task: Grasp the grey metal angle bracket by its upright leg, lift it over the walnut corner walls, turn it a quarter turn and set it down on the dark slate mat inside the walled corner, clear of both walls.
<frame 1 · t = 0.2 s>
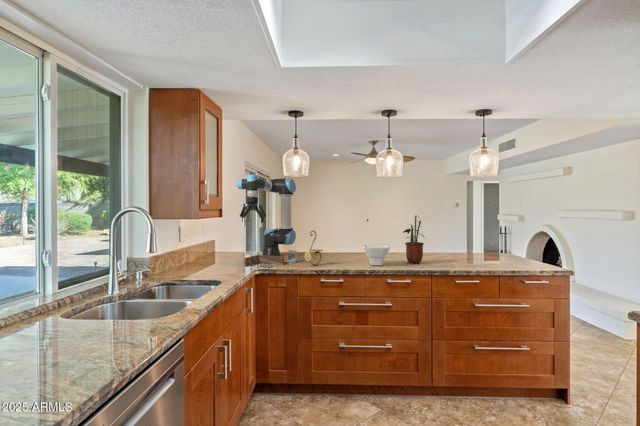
hand: (252, 227, 269), 28 cm above the counter, fingers open, 13 cm apart
bowl: (376, 265, 272), on the counter
angle bracket: (290, 263, 284), on the counter
corner walls: (263, 265, 272), on the counter
wall sconce: (314, 265, 274), on the counter
potted plant: (414, 264, 279), on the counter
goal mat: (264, 266, 269), on the counter
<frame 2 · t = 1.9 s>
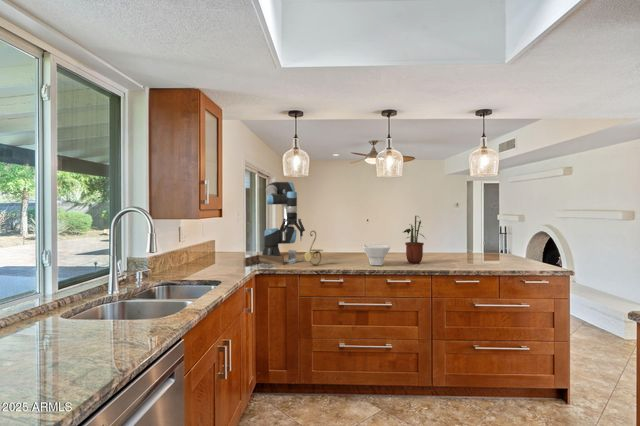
hand: (292, 240, 287), 16 cm above the counter, fingers open, 13 cm apart
nothing on the counter moved.
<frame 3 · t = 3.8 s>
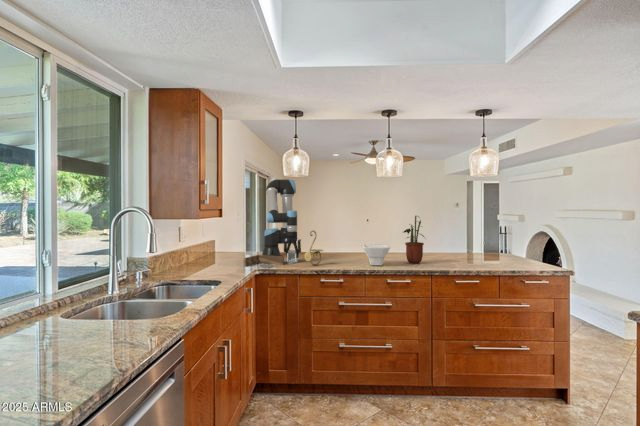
hand: (292, 261, 287), 0 cm above the counter, fingers closed on angle bracket, 6 cm apart
angle bracket: (290, 263, 284), on the counter, touching gripper
everything else where it was.
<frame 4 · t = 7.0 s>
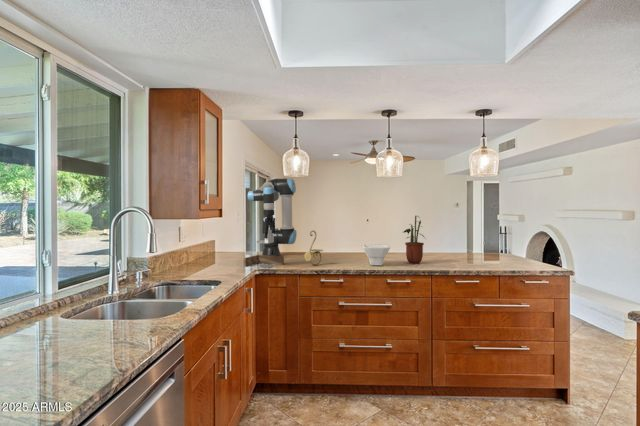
hand: (269, 242, 268), 17 cm above the counter, fingers closed on angle bracket, 6 cm apart
angle bracket: (264, 242, 269), point 17 cm above the counter, touching gripper
everything else where it was.
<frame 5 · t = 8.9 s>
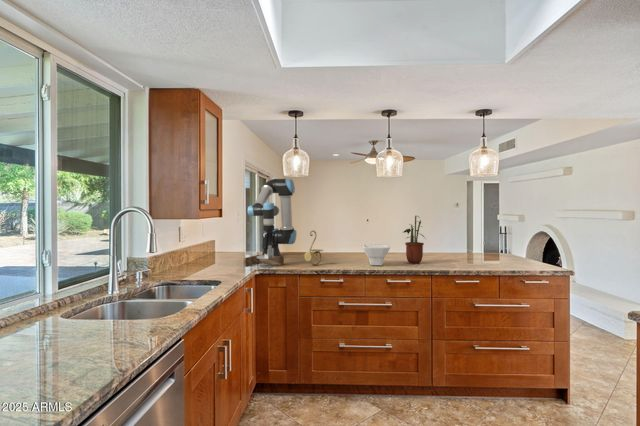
hand: (269, 257, 268), 6 cm above the counter, fingers closed on angle bracket, 6 cm apart
angle bracket: (264, 258, 269), point 6 cm above the counter, touching gripper
everything else where it was.
when the fingers open (2 cm above the counter, at t = 10.1 s): angle bracket drops 1 cm, resting on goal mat.
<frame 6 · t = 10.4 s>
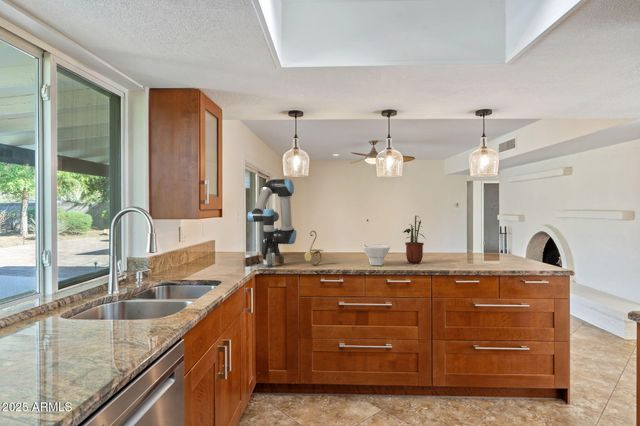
hand: (269, 263, 268), 3 cm above the counter, fingers open, 9 cm apart
angle bracket: (264, 266, 270), resting on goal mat
everything else where it was.
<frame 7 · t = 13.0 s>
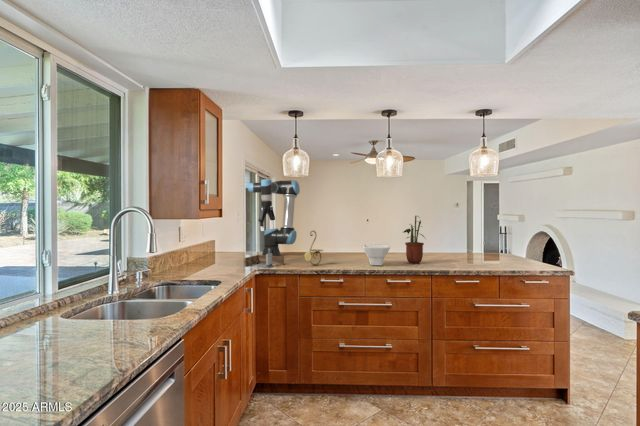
hand: (267, 229, 279), 25 cm above the counter, fingers open, 13 cm apart
nothing on the counter moved.
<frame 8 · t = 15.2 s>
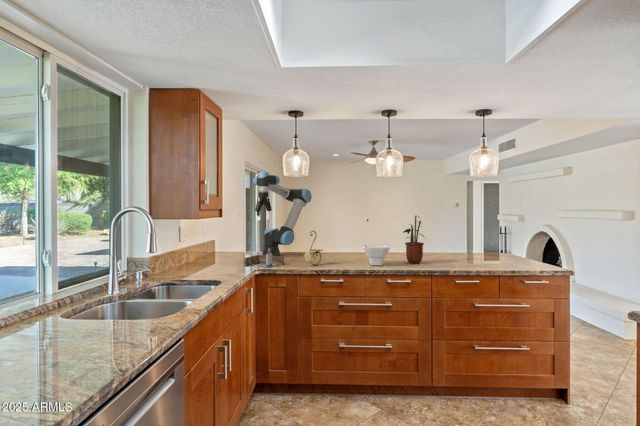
hand: (263, 219, 293), 32 cm above the counter, fingers open, 13 cm apart
nothing on the counter moved.
at the end: angle bracket inside the target area (0.3 cm from its centre), resting on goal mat; angle bracket tilted 0°; angle bracket touching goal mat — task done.
